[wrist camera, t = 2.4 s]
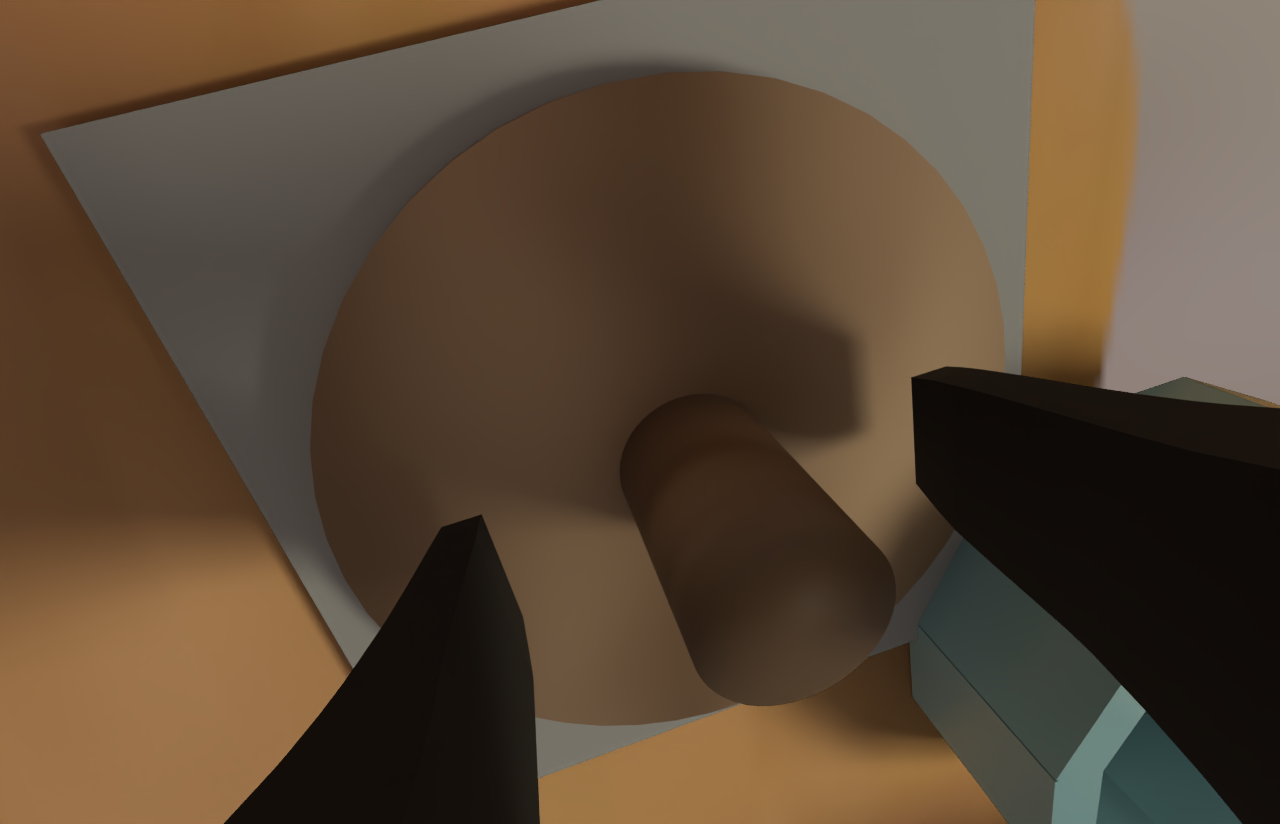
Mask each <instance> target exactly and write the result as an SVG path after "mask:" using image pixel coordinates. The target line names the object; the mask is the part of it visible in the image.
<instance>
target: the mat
mask: <svg viewBox="0 0 1280 824" xmlns="http://www.w3.org/2000/svg"><path fill="white" fill-rule="evenodd" d="M1034 17H1035V0H599V1H595V2H591V3H587V4H582V5H578V6H574V7H570V8H566V9H561V10H557V11H553V12H549V13H545V14H540V15H536V16H532V17H528V18H524V19H519V20H515V21H511V22H507V23H503V24H498V25H494V26H490V27H486V28H482V29H477V30H473V31H469V32H465V33H461V34H456V35H452V36H448V37H444V38H440V39H436V40H431V41H427V42H423V43H419V44H415V45H410V46H406V47H402V48H398V49H394V50H389V51H385V52H381V53H377V54H373V55H368V56H364V57H360V58H356V59H352V60H347V61H343V62H339V63H335V64H331V65H326V66H322V67H318V68H314V69H310V70H305V71H301V72H297V73H293V74H289V75H284V76H280V77H276V78H272V79H268V80H263V81H259V82H255V83H251V84H247V85H242V86H238V87H234V88H230V89H226V90H221V91H217V92H213V93H209V94H205V95H200V96H196V97H192V98H188V99H184V100H179V101H175V102H171V103H167V104H163V105H158V106H154V107H150V108H146V109H142V110H137V111H133V112H129V113H125V114H121V115H117V116H112V117H108V118H104V119H100V120H96V121H91V122H87V123H83V124H79V125H75V126H70V127H66V128H62V129H58V130H54V131H49V132H45V133H41V134H40V135H41V137H42V138H43V140H44V142H45V144H46V145H47V147H48V149H49V150H50V152H51V154H52V156H53V157H54V159H55V161H56V162H57V164H58V166H59V167H60V169H61V171H62V173H63V174H64V176H65V178H66V179H67V181H68V183H69V185H70V186H71V188H72V190H73V191H74V193H75V195H76V197H77V198H78V200H79V202H80V203H81V205H82V207H83V208H84V210H85V212H86V214H87V215H88V217H89V219H90V220H91V222H92V224H93V226H94V227H95V229H96V231H97V232H98V234H99V236H100V237H101V239H102V241H103V243H104V244H105V246H106V248H107V249H108V251H109V253H110V255H111V256H112V258H113V260H114V261H115V263H116V265H117V267H118V268H119V270H120V272H121V273H122V275H123V277H124V278H125V280H126V282H127V284H128V285H129V287H130V289H131V290H132V292H133V294H134V296H135V297H136V299H137V301H138V302H139V304H140V306H141V307H142V309H143V311H144V313H145V314H146V316H147V318H148V319H149V321H150V323H151V325H152V326H153V328H154V330H155V331H156V333H157V335H158V336H159V338H160V340H161V342H162V343H163V345H164V347H165V348H166V350H167V352H168V354H169V355H170V357H171V359H172V360H173V362H174V364H175V366H176V367H177V369H178V371H179V372H180V374H181V376H182V377H183V379H184V381H185V383H186V384H187V386H188V388H189V389H190V391H191V393H192V395H193V396H194V398H195V400H196V401H197V403H198V405H199V406H200V408H201V410H202V412H203V413H204V415H205V417H206V418H207V420H208V422H209V424H210V425H211V427H212V429H213V430H214V432H215V434H216V435H217V437H218V439H219V441H220V442H221V444H222V446H223V447H224V449H225V451H226V453H227V454H228V456H229V458H230V459H231V461H232V463H233V465H234V466H235V468H236V470H237V471H238V473H239V475H240V476H241V478H242V480H243V482H244V483H245V485H246V487H247V488H248V490H249V492H250V494H251V495H252V497H253V499H254V500H255V502H256V504H257V505H258V507H259V509H260V511H261V512H262V514H263V516H264V517H265V519H266V521H267V523H268V524H269V526H270V528H271V529H272V531H273V533H274V535H275V536H276V538H277V540H278V541H279V543H280V545H281V546H282V548H283V550H284V552H285V553H286V555H287V557H288V558H289V560H290V562H291V564H292V565H293V567H294V569H295V570H296V572H297V574H298V575H299V577H300V579H301V581H302V582H303V584H304V586H305V587H306V589H307V591H308V593H309V594H310V596H311V598H312V599H313V601H314V603H315V604H316V606H317V608H318V610H319V611H320V613H321V615H322V616H323V618H324V620H325V622H326V623H327V625H328V627H329V628H330V630H331V632H332V634H333V635H334V637H335V639H336V640H337V642H338V644H339V645H340V647H341V649H342V651H343V652H344V654H345V656H346V657H347V659H348V661H349V663H350V664H351V666H352V668H354V667H355V665H356V664H357V662H358V661H359V660H360V658H361V657H362V655H363V654H364V652H365V651H366V649H367V648H368V646H369V645H370V643H371V642H372V640H373V639H374V638H375V636H376V635H377V633H378V632H379V630H380V629H381V628H380V627H379V626H378V625H377V623H376V622H375V621H374V620H373V619H372V618H371V617H370V616H369V615H368V613H367V612H366V610H365V609H364V607H363V606H362V604H361V603H360V601H359V600H358V598H357V597H356V595H355V594H354V592H353V591H352V589H351V588H350V586H349V585H348V583H347V582H346V580H345V579H344V576H343V574H342V572H341V570H340V568H339V565H338V563H337V561H336V559H335V557H334V554H333V552H332V550H331V548H330V546H329V543H328V541H327V538H326V535H325V531H324V528H323V524H322V520H321V517H320V513H319V509H318V506H317V502H316V498H315V492H314V483H313V474H312V464H311V455H310V440H311V420H312V401H313V396H314V392H315V387H316V382H317V378H318V373H319V368H320V363H321V359H322V354H323V350H324V347H325V345H326V342H327V339H328V337H329V334H330V331H331V329H332V326H333V324H334V321H335V318H336V316H337V313H338V311H339V308H340V305H341V303H342V300H343V298H344V297H345V295H346V293H347V291H348V289H349V288H350V286H351V284H352V282H353V281H354V279H355V277H356V275H357V274H358V272H359V270H360V268H361V267H362V265H363V263H364V261H365V259H366V258H367V256H368V254H369V252H370V251H371V249H372V248H373V247H374V245H375V244H376V243H377V241H378V240H379V239H380V237H381V236H382V235H383V234H384V232H385V231H386V230H387V228H388V227H389V226H390V225H391V223H392V222H393V221H394V220H395V218H396V217H397V216H398V214H399V213H400V212H401V211H402V209H403V208H404V207H405V205H406V204H407V203H408V202H409V200H410V199H411V198H412V197H413V196H414V195H415V194H416V193H417V192H418V191H419V190H420V189H421V188H422V187H424V186H425V185H426V184H427V183H428V182H429V181H430V180H431V179H432V178H433V177H434V176H435V175H436V174H437V173H438V172H439V171H440V170H441V169H442V168H443V167H445V166H446V165H447V164H448V163H449V162H450V161H451V160H452V159H454V158H455V157H456V156H458V155H459V154H461V153H462V152H464V151H465V150H466V149H468V148H469V147H471V146H472V145H473V144H475V143H476V142H478V141H479V140H481V139H482V138H483V137H485V136H486V135H488V134H489V133H490V132H492V131H493V130H495V129H496V128H498V127H500V126H502V125H504V124H506V123H508V122H510V121H512V120H514V119H516V118H518V117H520V116H521V115H523V114H525V113H527V112H529V111H531V110H533V109H535V108H537V107H539V106H541V105H543V104H545V103H548V102H550V101H553V100H556V99H559V98H562V97H565V96H568V95H571V94H574V93H577V92H580V91H583V90H586V89H589V88H592V87H595V86H598V85H602V84H606V83H611V82H617V81H622V80H628V79H633V78H639V77H645V76H650V75H656V74H661V73H674V72H712V71H724V72H731V73H739V74H747V75H754V76H762V77H770V78H776V79H780V80H783V81H786V82H790V83H793V84H796V85H800V86H803V87H807V88H810V89H813V90H817V91H820V92H823V93H826V94H828V95H830V96H832V97H834V98H836V99H838V100H840V101H842V102H845V103H847V104H849V105H851V106H853V107H855V108H857V109H859V110H861V111H863V112H865V113H867V114H869V115H871V116H872V117H873V118H875V119H876V120H878V121H879V122H880V123H882V124H883V125H885V126H886V127H888V128H889V129H890V130H892V131H893V132H895V133H896V134H897V135H899V136H900V137H902V138H903V139H905V140H906V141H907V142H908V143H909V144H910V145H911V146H912V147H913V148H914V149H915V150H916V151H917V152H918V153H919V154H920V155H921V156H922V157H924V158H925V159H926V160H927V161H928V162H929V163H930V164H931V165H932V166H933V167H934V168H935V169H936V170H937V171H938V172H939V173H940V175H941V176H942V178H943V179H944V180H945V182H946V183H947V184H948V186H949V187H950V189H951V190H952V191H953V193H954V194H955V195H956V197H957V198H958V199H959V201H960V202H961V204H962V205H963V206H964V208H965V210H966V212H967V214H968V216H969V218H970V219H971V221H972V223H973V225H974V227H975V229H976V231H977V233H978V235H979V237H980V239H981V241H982V243H983V245H984V248H985V251H986V254H987V257H988V260H989V263H990V266H991V269H992V272H993V275H994V278H995V281H996V284H997V290H998V295H999V301H1000V306H1001V312H1002V317H1003V323H1004V346H1005V371H1004V373H1010V374H1016V375H1021V369H1022V342H1023V314H1024V287H1025V260H1026V233H1027V206H1028V179H1029V152H1030V125H1031V98H1032V71H1033V44H1034ZM962 540H963V537H962V536H961V535H960V534H959V533H958V532H957V531H956V530H954V531H953V533H952V535H951V537H950V538H949V540H948V542H947V543H946V545H945V546H944V547H943V549H942V550H941V551H940V553H939V554H938V556H937V557H936V558H935V560H934V561H933V563H932V564H931V565H930V567H929V568H928V569H927V571H926V572H925V573H924V575H923V576H922V577H921V578H920V579H919V580H918V581H917V582H916V584H915V585H914V586H913V587H912V588H911V589H910V590H909V592H908V593H907V594H906V595H905V596H904V597H903V598H902V600H901V601H900V602H899V603H898V604H896V605H895V606H894V611H893V614H892V617H891V620H890V622H889V625H888V627H887V629H886V631H885V633H884V635H883V636H882V638H881V640H880V642H879V643H878V644H877V646H876V647H875V648H874V650H873V651H872V652H871V654H870V655H869V656H868V657H871V656H873V655H876V654H879V653H882V652H884V651H887V650H890V649H892V648H895V647H898V646H901V645H903V644H906V643H909V642H912V641H914V640H917V639H918V625H919V624H918V623H919V621H920V619H921V617H922V615H923V613H924V611H925V610H926V608H927V606H928V604H929V602H930V600H931V598H932V596H933V594H934V593H935V591H936V589H937V587H938V585H939V583H940V581H941V579H942V577H943V576H944V574H945V572H946V570H947V568H948V566H949V564H950V562H951V560H952V559H953V557H954V555H955V553H956V551H957V549H958V547H959V545H960V543H961V542H962ZM868 657H867V658H868ZM740 704H741V703H740ZM740 704H737V705H740ZM737 705H734V706H737ZM734 706H730V707H727V708H724V709H721V710H718V711H715V712H712V713H707V714H703V715H698V716H694V717H689V718H685V719H680V720H676V721H668V722H660V723H651V724H643V725H619V726H597V725H584V724H572V723H563V722H557V721H552V720H547V719H542V718H536V717H535V722H536V745H537V769H538V778H540V777H543V776H546V775H548V774H551V773H554V772H557V771H559V770H562V769H565V768H568V767H570V766H573V765H576V764H579V763H581V762H584V761H587V760H589V759H592V758H595V757H598V756H600V755H603V754H606V753H609V752H611V751H614V750H617V749H619V748H622V747H625V746H628V745H630V744H633V743H636V742H639V741H641V740H644V739H647V738H650V737H652V736H655V735H658V734H660V733H663V732H666V731H669V730H671V729H674V728H677V727H680V726H682V725H685V724H688V723H690V722H693V721H696V720H699V719H701V718H704V717H707V716H710V715H712V714H715V713H718V712H720V711H723V710H726V709H729V708H731V707H734Z"/></svg>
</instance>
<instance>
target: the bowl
mask: <svg viewBox="0 0 1280 824" xmlns="http://www.w3.org/2000/svg"><path fill="white" fill-rule="evenodd" d="M1135 394H1143V395H1150V396H1158V397H1166V398H1174V399H1182V400H1190V401H1199V402H1209V403H1219V404H1230V405H1244V406H1257V407H1271V408H1280V405H1277V404H1274V403H1272V402H1269V401H1265V400H1262V399H1259V398H1255V397H1252V396H1248V395H1245V394H1241V393H1238V392H1235V391H1231V390H1227V389H1224V388H1221V387H1217V386H1214V385H1211V384H1207V383H1204V382H1200V381H1197V380H1193V379H1190V378H1187V377H1185V378H1184V377H1182V378H1179V379H1176V380H1173V381H1170V382H1168V383H1164V384H1161V385H1159V386H1155V387H1153V388H1149V389H1147V390H1144V391H1141V392H1138V393H1135ZM918 624H919V625H918V639H917V640H914V641H912V642H909V645H910V663H911V680H912V697H913V698H914V700H915V701H916V702H917V704H918V705H919V706H920V708H921V709H922V710H923V712H924V713H925V714H926V716H927V717H928V718H929V720H930V721H931V722H932V724H933V725H934V726H935V728H936V729H937V730H938V731H939V733H940V734H941V735H942V737H943V738H944V739H945V741H946V742H947V743H948V745H949V746H950V747H951V749H952V750H953V751H954V753H955V754H956V755H957V757H958V758H959V759H960V761H961V762H962V763H963V765H964V766H965V767H966V768H967V770H968V771H969V772H970V774H971V775H972V776H973V778H974V779H975V780H976V782H977V783H978V784H979V786H980V787H981V788H982V790H983V791H984V792H985V794H986V795H987V796H988V798H989V799H990V800H991V801H992V803H993V804H994V805H995V807H996V808H997V809H998V811H999V812H1000V813H1001V815H1002V816H1003V817H1004V819H1005V820H1006V821H1007V823H1008V824H1242V823H1241V822H1240V820H1239V819H1238V818H1237V817H1236V815H1235V814H1234V813H1233V812H1232V811H1231V809H1230V808H1229V807H1228V806H1227V805H1226V803H1225V802H1224V801H1223V800H1222V799H1221V797H1220V796H1219V795H1218V794H1217V792H1216V791H1215V790H1214V789H1213V788H1212V786H1211V785H1210V784H1209V783H1208V782H1207V780H1206V779H1205V778H1204V777H1203V776H1202V774H1201V773H1200V772H1199V771H1198V770H1197V769H1196V768H1195V766H1194V765H1193V764H1192V763H1191V762H1190V761H1189V760H1188V759H1187V757H1186V756H1185V755H1184V754H1183V753H1182V752H1181V751H1180V749H1179V748H1178V747H1177V746H1176V745H1175V744H1174V743H1173V741H1172V740H1171V739H1170V738H1169V737H1168V736H1167V735H1166V734H1165V732H1164V731H1163V730H1162V729H1161V728H1160V727H1159V726H1158V724H1157V723H1156V722H1155V721H1154V720H1153V719H1152V718H1151V716H1150V715H1149V714H1148V713H1147V712H1146V711H1145V710H1144V709H1143V708H1142V707H1141V705H1140V704H1139V703H1138V702H1137V701H1136V700H1135V699H1134V698H1133V697H1132V696H1131V695H1130V694H1129V693H1128V692H1127V690H1126V689H1125V688H1124V687H1123V686H1122V685H1121V684H1120V683H1119V682H1118V681H1117V680H1116V679H1115V678H1114V677H1113V675H1112V674H1111V673H1110V672H1109V671H1108V670H1107V669H1106V668H1105V667H1104V666H1103V665H1102V664H1101V663H1100V662H1099V660H1098V659H1097V658H1096V657H1095V656H1094V655H1093V654H1092V653H1091V652H1090V651H1089V650H1088V649H1087V648H1086V647H1085V646H1084V645H1082V644H1081V643H1080V642H1079V641H1078V640H1077V639H1076V638H1075V637H1074V636H1073V635H1072V634H1071V633H1070V632H1069V631H1068V630H1067V629H1066V628H1064V627H1063V626H1062V625H1061V624H1060V623H1059V622H1058V621H1057V620H1055V619H1054V618H1053V617H1052V616H1051V615H1050V614H1049V613H1047V612H1046V611H1045V610H1044V609H1043V608H1042V607H1041V606H1040V605H1038V604H1037V603H1036V602H1035V601H1034V600H1033V599H1032V598H1030V597H1029V596H1028V595H1027V594H1026V593H1025V592H1024V591H1022V590H1021V589H1020V588H1019V587H1018V586H1017V585H1016V584H1015V583H1013V582H1012V581H1011V580H1010V579H1009V578H1008V577H1007V576H1005V575H1004V574H1003V573H1002V572H1001V571H1000V570H999V569H997V568H996V567H995V566H994V565H993V564H992V563H991V562H990V561H989V560H987V559H986V558H985V557H984V556H983V555H982V554H981V553H980V552H979V551H977V550H976V549H975V548H974V547H973V546H972V545H971V544H970V543H969V542H967V541H966V540H965V539H964V538H963V540H962V542H961V543H960V545H959V547H958V549H957V551H956V553H955V555H954V557H953V559H952V560H951V562H950V564H949V566H948V568H947V570H946V572H945V574H944V576H943V577H942V579H941V581H940V583H939V585H938V587H937V589H936V591H935V593H934V594H933V596H932V598H931V600H930V602H929V604H928V606H927V608H926V610H925V611H924V613H923V615H922V617H921V619H920V621H919V623H918Z"/></svg>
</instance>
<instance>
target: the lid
mask: <svg viewBox="0 0 1280 824" xmlns="http://www.w3.org/2000/svg"><path fill="white" fill-rule="evenodd" d="M945 366H950V367H965V368H974V369H983V370H990V371H997V372H1003V373H1004V371H1005V346H1004V323H1003V317H1002V312H1001V306H1000V301H999V295H998V290H997V284H996V281H995V278H994V275H993V272H992V269H991V266H990V263H989V260H988V257H987V254H986V251H985V248H984V245H983V243H982V241H981V239H980V237H979V235H978V233H977V231H976V229H975V227H974V225H973V223H972V221H971V219H970V218H969V216H968V214H967V212H966V210H965V208H964V206H963V205H962V204H961V202H960V201H959V199H958V198H957V197H956V195H955V194H954V193H953V191H952V190H951V189H950V187H949V186H948V184H947V183H946V182H945V180H944V179H943V178H942V176H941V175H940V173H939V172H938V171H937V170H936V169H935V168H934V167H933V166H932V165H931V164H930V163H929V162H928V161H927V160H926V159H925V158H924V157H922V156H921V155H920V154H919V153H918V152H917V151H916V150H915V149H914V148H913V147H912V146H911V145H910V144H909V143H908V142H907V141H906V140H905V139H903V138H902V137H900V136H899V135H897V134H896V133H895V132H893V131H892V130H890V129H889V128H888V127H886V126H885V125H883V124H882V123H880V122H879V121H878V120H876V119H875V118H873V117H872V116H871V115H869V114H867V113H865V112H863V111H861V110H859V109H857V108H855V107H853V106H851V105H849V104H847V103H845V102H842V101H840V100H838V99H836V98H834V97H832V96H830V95H828V94H826V93H823V92H820V91H817V90H813V89H810V88H807V87H803V86H800V85H796V84H793V83H790V82H786V81H783V80H780V79H776V78H770V77H762V76H754V75H747V74H739V73H731V72H724V71H712V72H674V73H661V74H656V75H650V76H645V77H639V78H633V79H628V80H622V81H617V82H611V83H606V84H602V85H598V86H595V87H592V88H589V89H586V90H583V91H580V92H577V93H574V94H571V95H568V96H565V97H562V98H559V99H556V100H553V101H550V102H548V103H545V104H543V105H541V106H539V107H537V108H535V109H533V110H531V111H529V112H527V113H525V114H523V115H521V116H520V117H518V118H516V119H514V120H512V121H510V122H508V123H506V124H504V125H502V126H500V127H498V128H496V129H495V130H493V131H492V132H490V133H489V134H488V135H486V136H485V137H483V138H482V139H481V140H479V141H478V142H476V143H475V144H473V145H472V146H471V147H469V148H468V149H466V150H465V151H464V152H462V153H461V154H459V155H458V156H456V157H455V158H454V159H452V160H451V161H450V162H449V163H448V164H447V165H446V166H445V167H443V168H442V169H441V170H440V171H439V172H438V173H437V174H436V175H435V176H434V177H433V178H432V179H431V180H430V181H429V182H428V183H427V184H426V185H425V186H424V187H422V188H421V189H420V190H419V191H418V192H417V193H416V194H415V195H414V196H413V197H412V198H411V199H410V200H409V202H408V203H407V204H406V205H405V207H404V208H403V209H402V211H401V212H400V213H399V214H398V216H397V217H396V218H395V220H394V221H393V222H392V223H391V225H390V226H389V227H388V228H387V230H386V231H385V232H384V234H383V235H382V236H381V237H380V239H379V240H378V241H377V243H376V244H375V245H374V247H373V248H372V249H371V251H370V252H369V254H368V256H367V258H366V259H365V261H364V263H363V265H362V267H361V268H360V270H359V272H358V274H357V275H356V277H355V279H354V281H353V282H352V284H351V286H350V288H349V289H348V291H347V293H346V295H345V297H344V298H343V300H342V303H341V305H340V308H339V311H338V313H337V316H336V318H335V321H334V324H333V326H332V329H331V331H330V334H329V337H328V339H327V342H326V345H325V347H324V350H323V354H322V359H321V363H320V368H319V373H318V378H317V382H316V387H315V392H314V396H313V401H312V420H311V440H310V455H311V464H312V474H313V483H314V492H315V498H316V502H317V506H318V509H319V513H320V517H321V520H322V524H323V528H324V531H325V535H326V538H327V541H328V543H329V546H330V548H331V550H332V552H333V554H334V557H335V559H336V561H337V563H338V565H339V568H340V570H341V572H342V574H343V576H344V579H345V580H346V582H347V583H348V585H349V586H350V588H351V589H352V591H353V592H354V594H355V595H356V597H357V598H358V600H359V601H360V603H361V604H362V606H363V607H364V609H365V610H366V612H367V613H368V615H369V616H370V617H371V618H372V619H373V620H374V621H375V622H376V623H377V625H378V626H379V627H380V628H381V627H382V626H383V624H384V623H385V621H386V619H387V618H388V616H389V615H390V613H391V611H392V610H393V608H394V606H395V605H396V603H397V601H398V600H399V598H400V597H401V595H402V593H403V592H404V590H405V588H406V587H407V585H408V583H409V581H410V580H411V578H412V576H413V575H414V573H415V571H416V569H417V568H418V566H419V564H420V562H421V561H422V559H423V557H424V556H425V554H426V552H427V550H428V549H429V547H430V545H431V544H432V542H433V540H434V538H435V537H436V535H437V533H438V532H439V530H440V529H441V527H443V526H446V525H450V524H453V523H456V522H459V521H462V520H465V519H468V518H472V517H475V516H478V515H481V514H482V516H483V519H484V521H485V524H486V526H487V529H488V531H489V534H490V536H491V538H492V541H493V543H494V546H495V548H496V551H497V553H498V556H499V558H500V561H501V563H502V566H503V568H504V571H505V573H506V576H507V578H508V580H509V583H510V585H511V588H512V590H513V593H514V595H515V598H516V600H517V603H518V605H519V608H520V610H521V613H522V615H523V619H524V625H525V630H526V636H527V641H528V647H529V653H530V659H531V666H532V672H533V681H534V700H535V717H536V718H542V719H547V720H552V721H557V722H563V723H572V724H584V725H597V726H619V725H643V724H651V723H660V722H668V721H676V720H680V719H685V718H689V717H694V716H698V715H703V714H707V713H712V712H715V711H718V710H721V709H724V708H727V707H730V706H734V705H737V704H740V703H741V704H745V705H753V706H773V705H782V704H787V703H791V702H796V701H799V700H802V699H805V698H808V697H810V696H813V695H815V694H817V693H820V692H822V691H824V690H825V689H827V688H829V687H831V686H833V685H834V684H836V683H837V682H839V681H840V680H842V679H844V678H845V677H846V676H847V675H849V674H850V673H851V672H852V671H854V670H855V669H856V668H857V667H858V666H859V665H860V664H861V663H862V662H863V661H864V660H865V659H866V658H867V657H868V656H869V655H870V654H871V652H872V651H873V650H874V648H875V647H876V646H877V644H878V643H879V642H880V640H881V638H882V636H883V635H884V633H885V631H886V629H887V627H888V625H889V622H890V620H891V617H892V614H893V611H894V606H895V605H896V604H898V603H899V602H900V601H901V600H902V598H903V597H904V596H905V595H906V594H907V593H908V592H909V590H910V589H911V588H912V587H913V586H914V585H915V584H916V582H917V581H918V580H919V579H920V578H921V577H922V576H923V575H924V573H925V572H926V571H927V569H928V568H929V567H930V565H931V564H932V563H933V561H934V560H935V558H936V557H937V556H938V554H939V553H940V551H941V550H942V549H943V547H944V546H945V545H946V543H947V542H948V540H949V538H950V537H951V535H952V533H953V531H954V528H953V527H952V526H951V525H950V524H949V523H948V522H947V520H946V519H945V518H944V517H943V516H942V515H941V514H940V513H939V511H938V510H937V509H936V508H935V507H934V505H933V504H932V503H931V502H930V501H929V499H928V498H927V497H926V496H925V494H924V493H923V492H922V491H921V489H920V488H919V487H918V486H917V485H916V476H915V453H914V431H913V408H912V386H911V377H914V376H917V375H920V374H923V373H926V372H930V371H933V370H936V369H939V368H942V367H945Z"/></svg>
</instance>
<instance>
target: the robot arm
mask: <svg viewBox="0 0 1280 824" xmlns="http://www.w3.org/2000/svg"><path fill="white" fill-rule="evenodd" d="M911 386H912V408H913V431H914V453H915V476H916V485H917V486H918V487H919V488H920V489H921V491H922V492H923V493H924V494H925V496H926V497H927V498H928V499H929V501H930V502H931V503H932V504H933V505H934V507H935V508H936V509H937V510H938V511H939V513H940V514H941V515H942V516H943V517H944V518H945V519H946V520H947V522H948V523H949V524H950V525H951V526H952V527H953V528H954V530H956V531H957V532H958V533H959V534H960V535H961V536H962V537H963V538H964V539H965V540H966V541H967V542H969V543H970V544H971V545H972V546H973V547H974V548H975V549H976V550H977V551H979V552H980V553H981V554H982V555H983V556H984V557H985V558H986V559H987V560H989V561H990V562H991V563H992V564H993V565H994V566H995V567H996V568H997V569H999V570H1000V571H1001V572H1002V573H1003V574H1004V575H1005V576H1007V577H1008V578H1009V579H1010V580H1011V581H1012V582H1013V583H1015V584H1016V585H1017V586H1018V587H1019V588H1020V589H1021V590H1022V591H1024V592H1025V593H1026V594H1027V595H1028V596H1029V597H1030V598H1032V599H1033V600H1034V601H1035V602H1036V603H1037V604H1038V605H1040V606H1041V607H1042V608H1043V609H1044V610H1045V611H1046V612H1047V613H1049V614H1050V615H1051V616H1052V617H1053V618H1054V619H1055V620H1057V621H1058V622H1059V623H1060V624H1061V625H1062V626H1063V627H1064V628H1066V629H1067V630H1068V631H1069V632H1070V633H1071V634H1072V635H1073V636H1074V637H1075V638H1076V639H1077V640H1078V641H1079V642H1080V643H1081V644H1082V645H1084V646H1085V647H1086V648H1087V649H1088V650H1089V651H1090V652H1091V653H1092V654H1093V655H1094V656H1095V657H1096V658H1097V659H1098V660H1099V662H1100V663H1101V664H1102V665H1103V666H1104V667H1105V668H1106V669H1107V670H1108V671H1109V672H1110V673H1111V674H1112V675H1113V677H1114V678H1115V679H1116V680H1117V681H1118V682H1119V683H1120V684H1121V685H1122V686H1123V687H1124V688H1125V689H1126V690H1127V692H1128V693H1129V694H1130V695H1131V696H1132V697H1133V698H1134V699H1135V700H1136V701H1137V702H1138V703H1139V704H1140V705H1141V707H1142V708H1143V709H1144V710H1145V711H1146V712H1147V713H1148V714H1149V715H1150V716H1151V718H1152V719H1153V720H1154V721H1155V722H1156V723H1157V724H1158V726H1159V727H1160V728H1161V729H1162V730H1163V731H1164V732H1165V734H1166V735H1167V736H1168V737H1169V738H1170V739H1171V740H1172V741H1173V743H1174V744H1175V745H1176V746H1177V747H1178V748H1179V749H1180V751H1181V752H1182V753H1183V754H1184V755H1185V756H1186V757H1187V759H1188V760H1189V761H1190V762H1191V763H1192V764H1193V765H1194V766H1195V768H1196V769H1197V770H1198V771H1199V772H1200V773H1201V774H1202V776H1203V777H1204V778H1205V779H1206V780H1207V782H1208V783H1209V784H1210V785H1211V786H1212V788H1213V789H1214V790H1215V791H1216V792H1217V794H1218V795H1219V796H1220V797H1221V799H1222V800H1223V801H1224V802H1225V803H1226V805H1227V806H1228V807H1229V808H1230V809H1231V811H1232V812H1233V813H1234V814H1235V815H1236V817H1237V818H1238V819H1239V820H1240V822H1241V823H1242V824H1280V408H1271V407H1257V406H1244V405H1230V404H1219V403H1209V402H1199V401H1190V400H1182V399H1174V398H1166V397H1158V396H1150V395H1143V394H1135V393H1128V392H1121V391H1114V390H1107V389H1101V388H1095V387H1089V386H1082V385H1076V384H1070V383H1064V382H1058V381H1052V380H1046V379H1040V378H1034V377H1028V376H1022V375H1016V374H1010V373H1003V372H997V371H990V370H983V369H974V368H965V367H950V366H945V367H942V368H939V369H936V370H933V371H930V372H926V373H923V374H920V375H917V376H914V377H911ZM224 824H540V817H539V793H538V769H537V745H536V722H535V700H534V681H533V672H532V666H531V659H530V653H529V647H528V641H527V636H526V630H525V625H524V619H523V615H522V613H521V610H520V608H519V605H518V603H517V600H516V598H515V595H514V593H513V590H512V588H511V585H510V583H509V580H508V578H507V576H506V573H505V571H504V568H503V566H502V563H501V561H500V558H499V556H498V553H497V551H496V548H495V546H494V543H493V541H492V538H491V536H490V534H489V531H488V529H487V526H486V524H485V521H484V519H483V516H482V514H481V515H478V516H475V517H472V518H468V519H465V520H462V521H459V522H456V523H453V524H450V525H446V526H443V527H441V529H440V530H439V532H438V533H437V535H436V537H435V538H434V540H433V542H432V544H431V545H430V547H429V549H428V550H427V552H426V554H425V556H424V557H423V559H422V561H421V562H420V564H419V566H418V568H417V569H416V571H415V573H414V575H413V576H412V578H411V580H410V581H409V583H408V585H407V587H406V588H405V590H404V592H403V593H402V595H401V597H400V598H399V600H398V601H397V603H396V605H395V606H394V608H393V610H392V611H391V613H390V615H389V616H388V618H387V619H386V621H385V623H384V624H383V626H382V627H381V629H380V630H379V632H378V633H377V635H376V636H375V638H374V639H373V640H372V642H371V643H370V645H369V646H368V648H367V649H366V651H365V652H364V654H363V655H362V657H361V658H360V660H359V661H358V662H357V664H356V665H355V667H354V668H353V670H352V671H351V673H350V674H349V676H348V677H347V679H346V680H345V681H344V683H343V684H342V686H341V687H340V688H339V690H338V691H337V692H336V694H335V695H334V696H333V698H332V699H331V700H330V702H329V703H328V704H327V705H326V707H325V708H324V709H323V711H322V712H321V713H320V715H319V716H318V717H317V718H316V719H315V721H314V722H313V723H312V724H311V726H310V727H309V728H308V729H307V730H306V732H305V733H304V734H303V735H302V737H301V738H300V739H299V740H298V741H297V743H296V744H295V745H294V746H293V748H292V749H291V750H290V751H289V752H288V754H287V755H286V756H285V757H284V758H283V759H282V761H281V762H280V763H279V764H278V765H277V766H276V768H275V769H274V770H273V771H272V772H271V773H270V774H269V775H268V776H267V777H266V778H265V780H264V781H263V782H262V783H261V784H260V785H259V786H258V787H257V788H256V789H255V790H254V791H253V793H252V794H251V795H250V796H249V797H248V798H247V799H246V800H245V801H244V802H243V803H242V804H241V806H240V807H239V808H238V809H237V810H236V811H235V812H234V813H233V814H232V815H231V816H230V817H229V818H228V820H227V821H226V822H225V823H224Z"/></svg>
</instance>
